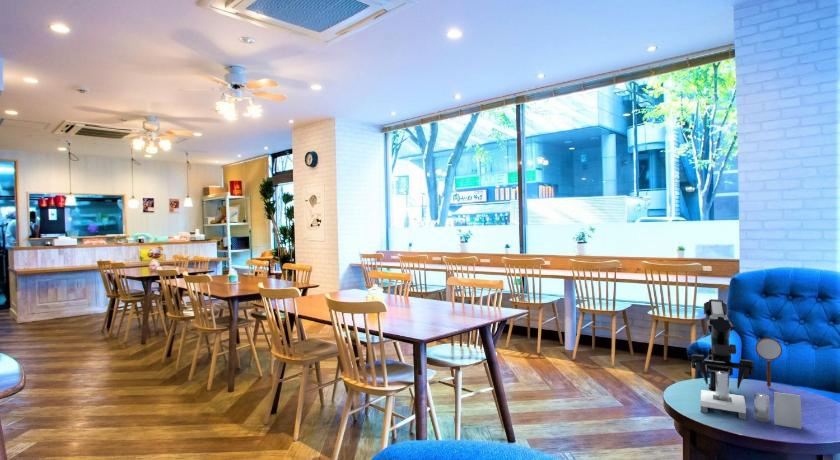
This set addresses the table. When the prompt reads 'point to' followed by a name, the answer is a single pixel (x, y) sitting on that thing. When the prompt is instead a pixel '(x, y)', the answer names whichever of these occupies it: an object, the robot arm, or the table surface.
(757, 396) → the short pin
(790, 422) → the ivan chai tea box
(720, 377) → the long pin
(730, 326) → the robot arm
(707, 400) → the hole board
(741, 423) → the table surface
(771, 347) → the magnifying glass
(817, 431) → the table surface
